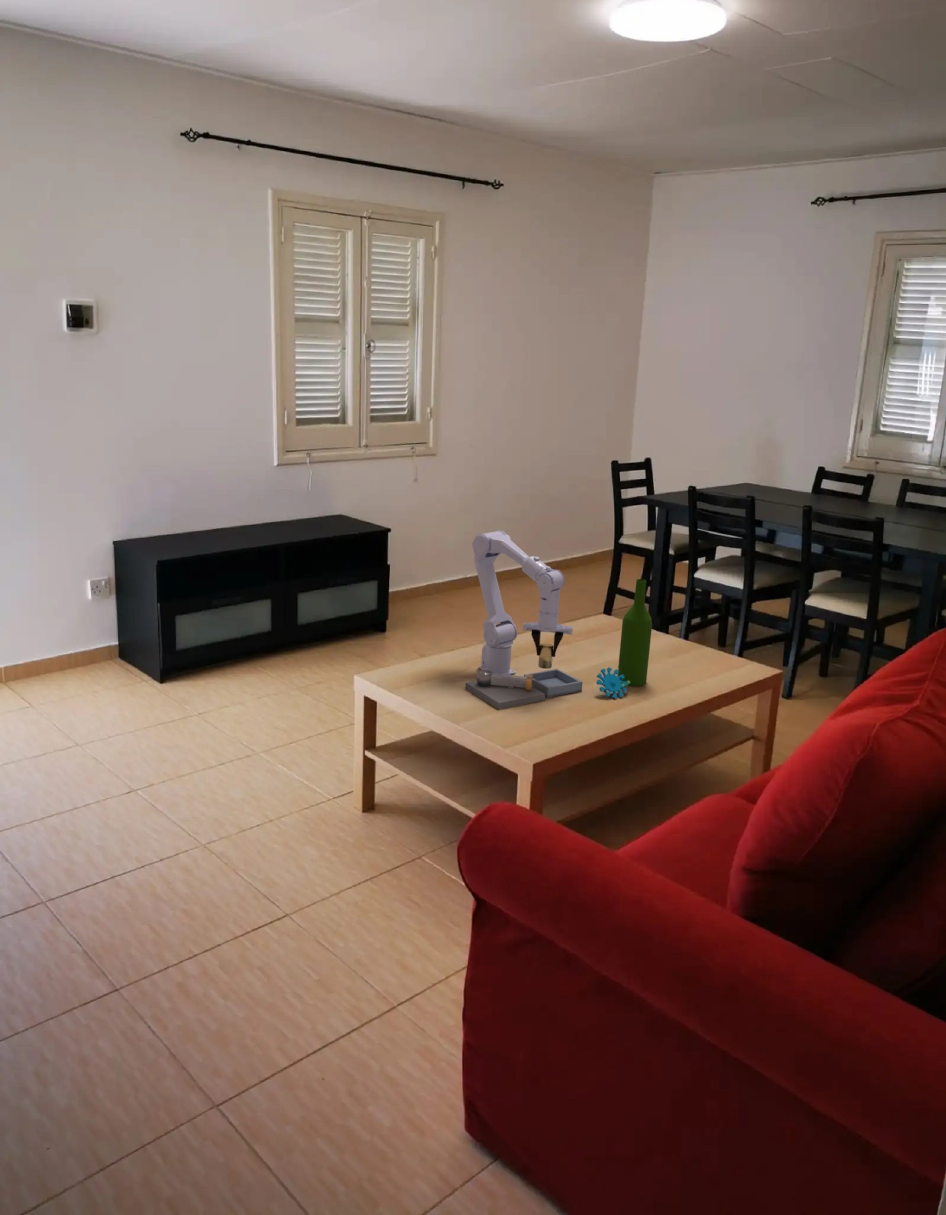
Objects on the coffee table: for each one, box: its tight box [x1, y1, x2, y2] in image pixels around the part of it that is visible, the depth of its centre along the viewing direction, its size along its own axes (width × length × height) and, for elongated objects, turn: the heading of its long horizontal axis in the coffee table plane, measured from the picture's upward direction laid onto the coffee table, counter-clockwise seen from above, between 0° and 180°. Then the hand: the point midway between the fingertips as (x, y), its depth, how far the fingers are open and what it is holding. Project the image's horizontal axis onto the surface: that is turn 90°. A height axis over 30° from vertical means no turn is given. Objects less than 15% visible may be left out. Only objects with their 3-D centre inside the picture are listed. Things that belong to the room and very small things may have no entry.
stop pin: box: [538, 643, 554, 670], centre depth 280 cm, size 4×4×6 cm
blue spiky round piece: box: [596, 666, 630, 699], centre depth 281 cm, size 11×6×10 cm
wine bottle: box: [617, 578, 653, 688], centre depth 288 cm, size 9×9×32 cm
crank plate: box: [465, 674, 546, 710], centre depth 277 cm, size 18×16×2 cm
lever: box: [476, 669, 533, 690], centre depth 277 cm, size 16×5×4 cm, turn 83°
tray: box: [523, 668, 583, 699], centre depth 284 cm, size 13×13×3 cm
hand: (546, 655), depth 280 cm, fingers closed on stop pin, 4 cm apart
